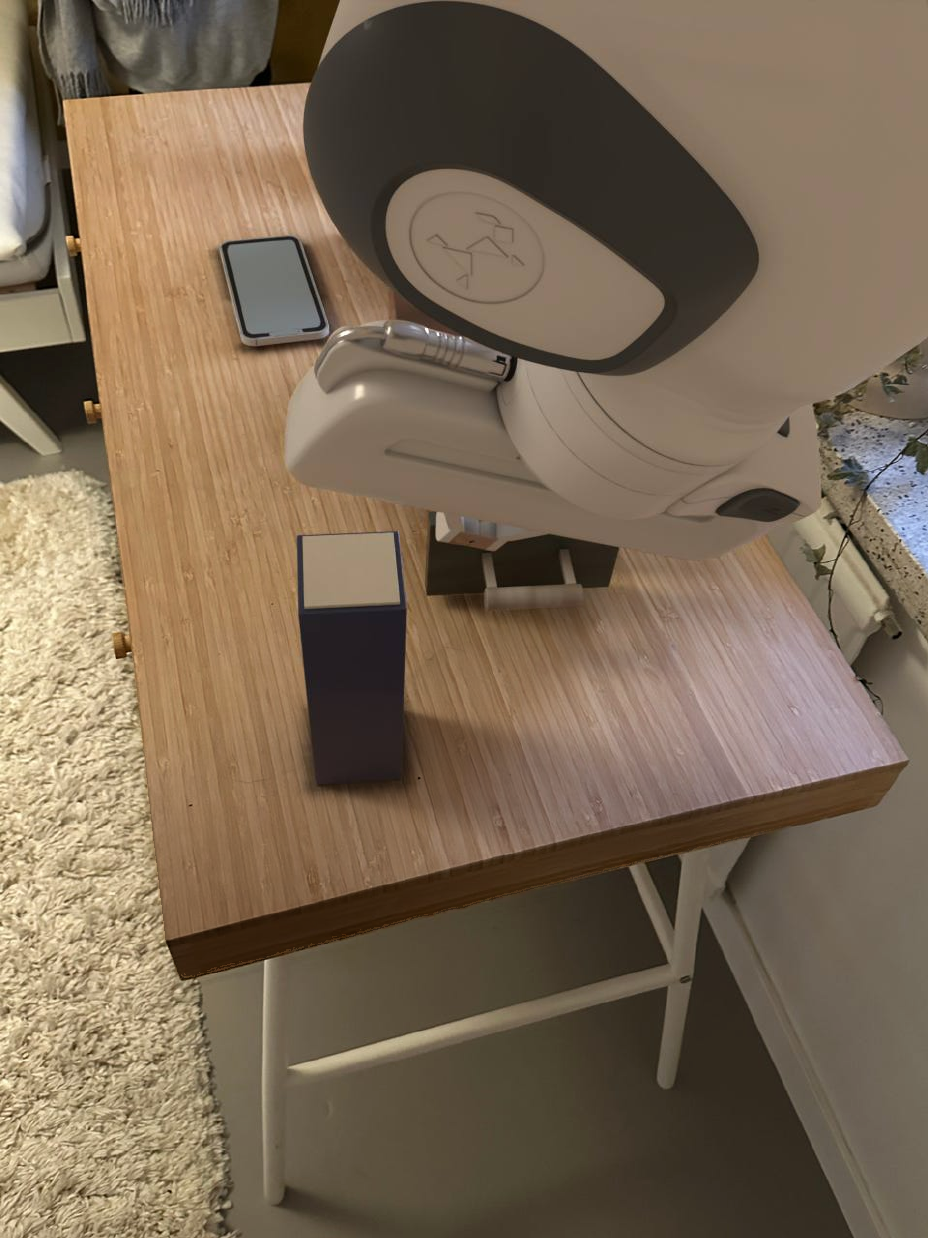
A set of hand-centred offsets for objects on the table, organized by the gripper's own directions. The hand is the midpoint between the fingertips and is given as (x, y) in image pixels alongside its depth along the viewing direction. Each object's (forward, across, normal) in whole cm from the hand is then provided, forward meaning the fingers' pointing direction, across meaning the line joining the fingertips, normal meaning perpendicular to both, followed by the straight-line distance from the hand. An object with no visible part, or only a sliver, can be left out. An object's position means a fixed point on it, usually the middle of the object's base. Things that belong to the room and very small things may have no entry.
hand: (463, 531), depth 48 cm
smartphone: (+35, -2, +36) cm, 50 cm away
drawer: (+18, +12, +10) cm, 24 cm away
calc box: (+18, +1, -7) cm, 19 cm away
